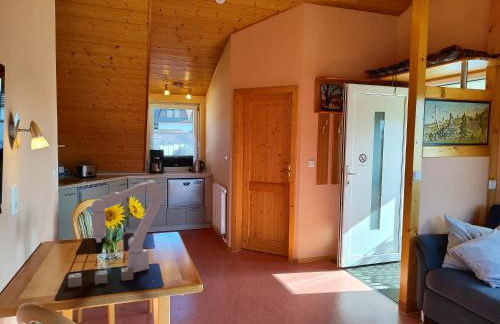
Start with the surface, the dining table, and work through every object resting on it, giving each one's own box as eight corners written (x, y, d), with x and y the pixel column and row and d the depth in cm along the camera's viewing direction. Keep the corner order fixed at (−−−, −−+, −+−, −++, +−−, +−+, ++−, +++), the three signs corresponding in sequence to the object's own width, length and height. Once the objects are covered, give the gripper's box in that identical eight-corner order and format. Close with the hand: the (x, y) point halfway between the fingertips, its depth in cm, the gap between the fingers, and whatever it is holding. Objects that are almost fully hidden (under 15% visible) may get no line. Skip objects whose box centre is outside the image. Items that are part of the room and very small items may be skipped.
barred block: (132, 275, 169) (132, 266, 168) (133, 279, 164) (133, 270, 164) (121, 276, 167) (121, 267, 167) (121, 280, 162) (121, 271, 162)
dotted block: (81, 281, 161) (81, 272, 160) (81, 285, 156) (81, 276, 156) (68, 283, 159) (68, 273, 158) (68, 287, 154) (68, 278, 154)
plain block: (107, 278, 164) (107, 270, 164) (107, 282, 160) (107, 273, 160) (95, 280, 163) (95, 271, 162) (94, 284, 158) (94, 275, 158)
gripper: (90, 222, 175) (90, 249, 175) (88, 229, 161) (89, 259, 162) (106, 221, 177) (106, 248, 178) (105, 227, 164) (106, 257, 164)
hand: (99, 253), depth 170 cm, fingers closed
